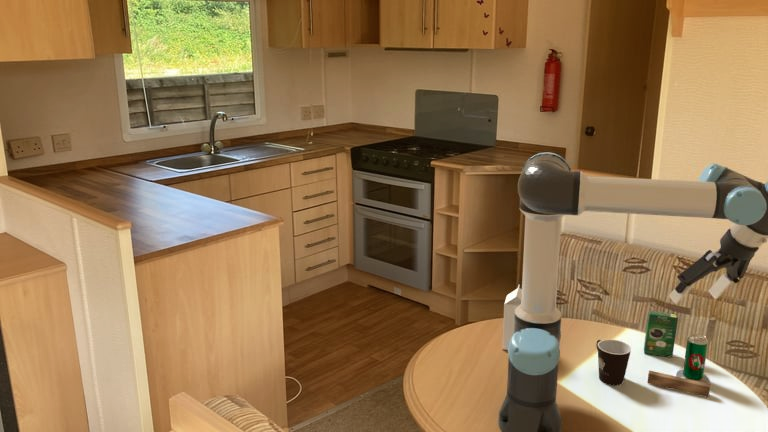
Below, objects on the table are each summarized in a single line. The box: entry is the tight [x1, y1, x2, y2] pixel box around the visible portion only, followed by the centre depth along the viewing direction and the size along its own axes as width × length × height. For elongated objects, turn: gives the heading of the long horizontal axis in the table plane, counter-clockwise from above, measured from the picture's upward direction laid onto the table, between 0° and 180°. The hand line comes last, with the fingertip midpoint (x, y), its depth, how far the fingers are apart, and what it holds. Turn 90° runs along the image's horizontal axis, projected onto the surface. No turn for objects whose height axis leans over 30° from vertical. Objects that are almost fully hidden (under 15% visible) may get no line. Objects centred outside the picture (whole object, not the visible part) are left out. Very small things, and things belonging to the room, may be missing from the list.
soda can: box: [682, 333, 709, 381], centre depth 174 cm, size 5×5×12 cm
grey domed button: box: [676, 369, 710, 384], centre depth 176 cm, size 8×8×1 cm
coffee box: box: [643, 310, 679, 358], centre depth 188 cm, size 8×3×13 cm, turn 70°
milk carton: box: [501, 284, 522, 351], centre depth 193 cm, size 7×7×19 cm
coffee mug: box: [596, 338, 632, 387], centre depth 177 cm, size 12×9×10 cm
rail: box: [647, 370, 711, 398], centre depth 171 cm, size 15×2×3 cm, turn 61°
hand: (693, 297), depth 160 cm, fingers open, 13 cm apart
